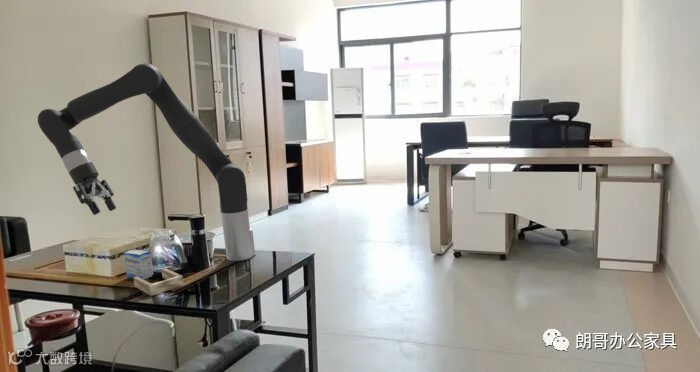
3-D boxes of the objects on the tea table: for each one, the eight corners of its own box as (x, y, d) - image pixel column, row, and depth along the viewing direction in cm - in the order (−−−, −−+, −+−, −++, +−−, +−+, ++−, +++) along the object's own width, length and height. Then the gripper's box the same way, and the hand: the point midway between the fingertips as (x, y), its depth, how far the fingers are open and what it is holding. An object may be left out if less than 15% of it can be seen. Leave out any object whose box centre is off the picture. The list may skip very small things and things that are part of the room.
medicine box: (126, 277, 175) (122, 252, 174) (137, 273, 179) (133, 248, 178) (143, 280, 172) (139, 254, 170) (154, 275, 176) (150, 250, 174)
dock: (166, 276, 173) (164, 268, 173) (183, 284, 165) (182, 275, 164) (134, 286, 166) (133, 277, 166) (151, 295, 158) (149, 286, 157)
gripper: (74, 162, 160) (101, 209, 160) (102, 160, 174) (127, 203, 174) (55, 174, 161) (82, 220, 161) (85, 171, 175) (109, 213, 175)
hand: (105, 211), depth 168 cm, fingers open, 8 cm apart
